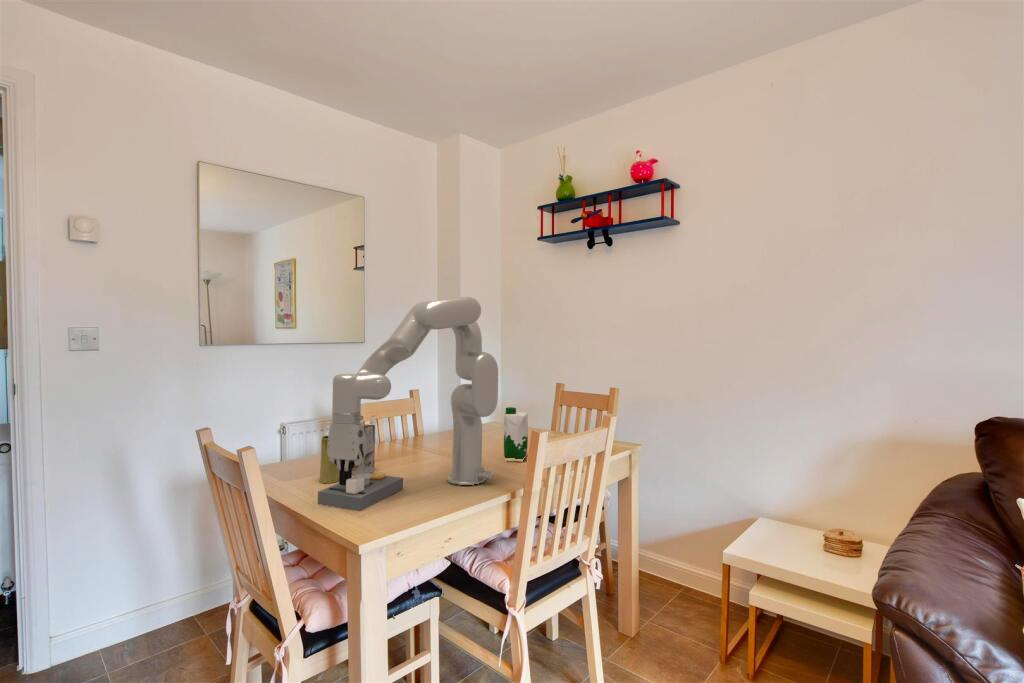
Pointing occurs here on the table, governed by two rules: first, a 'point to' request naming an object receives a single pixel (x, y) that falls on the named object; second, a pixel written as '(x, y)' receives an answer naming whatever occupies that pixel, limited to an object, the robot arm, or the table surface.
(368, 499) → the panel
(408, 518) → the table surface
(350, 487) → the white block
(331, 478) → the vase
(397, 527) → the table surface
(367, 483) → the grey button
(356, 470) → the coffee box
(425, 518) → the table surface
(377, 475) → the amber button
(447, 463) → the table surface
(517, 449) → the milk carton
